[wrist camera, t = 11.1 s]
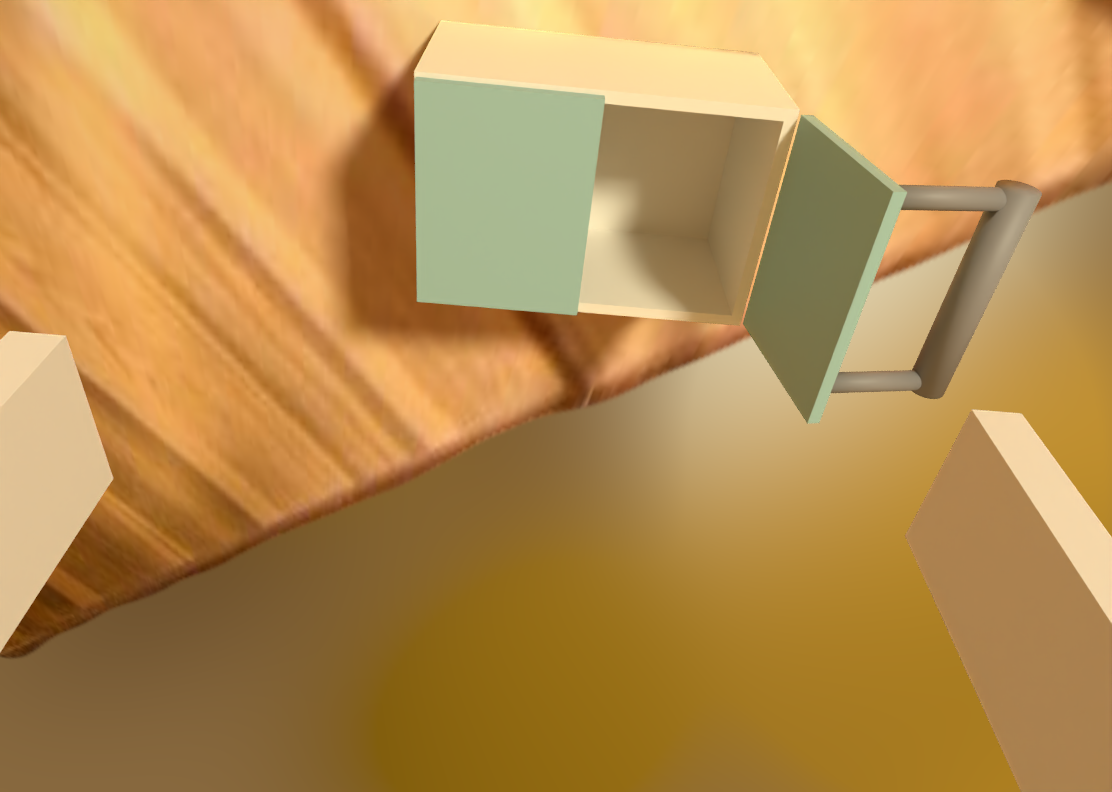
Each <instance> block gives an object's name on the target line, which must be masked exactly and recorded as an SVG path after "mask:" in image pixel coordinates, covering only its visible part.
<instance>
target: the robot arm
mask: <svg viewBox="0 0 1112 792" xmlns="http://www.w3.org/2000/svg"><path fill="white" fill-rule="evenodd" d="M112 480H113V476H112V473H111V470H110V467H109V464H108V461H107V458H106V455H105V452H104V449H103V446H102V443H101V440H100V437H99V434H98V431H97V428H96V425H95V422H94V419H93V416H92V413H91V410H90V407H89V404H88V401H87V398H86V395H85V392H84V389H83V386H82V383H81V380H80V377H79V374H78V371H77V368H76V365H75V362H74V359H73V356H72V353H71V350H70V347H69V344H68V341H67V338H66V336H64V335H51V334H39V333H27V332H14V331H9V332H8V333H7V334H6V335H5V336H4V337H3V338H2V339H1V340H0V652H1V650H2V649H3V647H4V646H5V644H6V643H7V641H8V640H9V638H10V637H11V635H12V634H13V632H14V630H15V629H16V627H17V626H18V624H19V623H20V621H21V620H22V618H23V617H24V615H25V614H26V612H27V610H28V609H29V607H30V606H31V604H32V603H33V601H34V600H35V598H36V597H37V595H38V594H39V592H40V590H41V589H42V587H43V586H44V584H45V583H46V581H47V580H48V578H49V577H50V575H51V574H52V572H53V570H54V569H55V567H56V566H57V564H58V563H59V561H60V560H61V558H62V557H63V555H64V554H65V552H66V550H67V549H68V547H69V546H70V544H71V543H72V541H73V540H74V538H75V537H76V535H77V534H78V532H79V531H80V529H81V527H82V526H83V524H84V523H85V521H86V520H87V518H88V517H89V515H90V514H91V512H92V511H93V509H94V507H95V506H96V504H97V503H98V501H99V500H100V498H101V497H102V495H103V494H104V492H105V491H106V489H107V487H108V486H109V484H110V483H111V481H112ZM905 537H906V539H907V541H908V544H909V546H910V548H911V550H912V552H913V555H914V557H915V559H916V561H917V563H918V566H919V568H920V570H921V572H922V574H923V576H924V579H925V581H926V583H927V585H928V588H929V590H930V592H931V594H932V596H933V599H934V601H935V603H936V605H937V607H938V610H939V612H940V614H941V616H942V619H943V621H944V623H945V625H946V627H947V630H948V632H949V634H950V636H951V638H952V641H953V642H954V645H955V647H956V649H957V651H958V654H959V656H960V658H961V660H962V663H963V665H964V667H965V669H966V671H967V674H968V676H969V678H970V680H971V682H972V685H973V687H974V689H975V691H976V693H977V696H978V698H979V700H980V702H981V704H982V707H983V709H984V711H985V713H986V715H987V718H988V720H989V722H990V724H991V726H992V729H993V731H994V733H995V735H996V737H997V740H998V742H999V744H1000V746H1001V748H1002V751H1003V753H1004V755H1005V757H1006V759H1007V762H1008V764H1009V766H1010V768H1011V770H1012V773H1013V775H1014V777H1015V779H1016V781H1017V783H1018V786H1019V788H1020V790H1021V792H1112V537H1111V536H1110V534H1109V533H1108V532H1107V530H1106V529H1105V528H1104V526H1103V525H1102V523H1101V522H1100V521H1099V519H1098V518H1097V517H1096V515H1095V514H1094V512H1093V511H1092V510H1091V508H1090V507H1089V506H1088V504H1087V503H1086V502H1085V500H1084V499H1083V497H1082V496H1081V495H1080V493H1079V492H1078V490H1077V489H1076V488H1075V486H1074V485H1073V484H1072V482H1071V481H1070V480H1069V478H1068V477H1067V476H1066V474H1065V473H1064V471H1063V470H1062V469H1061V467H1060V466H1059V464H1058V463H1057V462H1056V460H1055V459H1054V458H1053V456H1052V455H1051V453H1050V452H1049V451H1048V449H1047V448H1046V447H1045V445H1044V444H1043V443H1042V441H1041V440H1040V438H1039V437H1038V436H1037V434H1036V433H1035V431H1034V430H1033V429H1032V427H1031V426H1030V425H1029V423H1028V422H1027V420H1026V419H1025V418H1024V416H1023V415H1022V414H1021V413H1009V412H996V411H984V410H971V412H970V414H969V416H968V418H967V419H966V421H965V423H964V425H963V427H962V429H961V431H960V433H959V435H958V437H957V438H956V441H955V442H954V444H953V446H952V448H951V450H950V452H949V454H948V456H947V457H946V459H945V461H944V463H943V465H942V467H941V469H940V471H939V473H938V475H937V477H936V478H935V480H934V482H933V484H932V486H931V488H930V490H929V492H928V494H927V496H926V497H925V499H924V501H923V503H922V505H921V507H920V509H919V511H918V513H917V514H916V516H915V518H914V520H913V522H912V524H911V526H910V528H909V530H908V532H907V534H906V535H905Z"/></svg>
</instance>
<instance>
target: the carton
mask: <svg viewBox="0 0 1112 792" xmlns="http://www.w3.org/2000/svg"><path fill="white" fill-rule="evenodd" d="M416 77H424V78H434V79H444V80H454V81H464V82H474V83H484V84H494V85H504V86H514V87H524V88H534V89H544V90H554V91H565V92H575V93H585V94H595V95H605V104H604V112H603V119H602V127H601V135H600V143H599V150H598V158H597V166H596V173H595V181H594V189H593V197H592V204H591V212H590V220H589V227H588V235H587V243H586V251H585V258H584V266H583V274H582V281H581V289H580V297H579V305H578V312H584V313H596V314H608V315H619V316H631V317H643V318H654V319H666V320H678V321H689V322H701V323H713V324H725V325H736V326H740V324H741V320H742V316H743V313H744V309H745V306H746V302H747V298H748V295H749V291H750V288H751V284H752V280H753V277H754V273H755V270H756V266H757V262H758V259H759V255H760V252H761V248H762V244H763V241H764V237H765V234H766V230H767V226H768V223H769V219H770V216H771V212H772V208H773V205H774V201H775V198H776V194H777V190H778V187H779V183H780V180H781V176H782V172H783V169H784V165H785V162H786V158H787V154H788V151H789V147H790V144H791V140H792V136H793V133H794V129H795V126H796V122H797V118H798V115H799V111H800V109H799V108H798V107H797V105H796V104H795V103H794V101H793V100H792V98H791V97H790V96H789V94H788V93H787V92H786V90H785V89H784V87H783V86H782V85H781V83H780V82H779V81H778V79H777V78H776V76H775V75H774V74H773V72H772V71H771V70H770V68H769V67H768V65H767V64H766V63H765V61H764V60H763V59H762V57H761V56H760V54H759V53H753V52H743V51H734V50H724V49H715V48H705V47H695V46H686V45H676V44H666V43H657V42H647V41H637V40H628V39H618V38H608V37H599V36H589V35H579V34H570V33H560V32H550V31H541V30H531V29H521V28H512V27H502V26H492V25H483V24H473V23H463V22H454V21H444V20H441V21H440V23H439V25H438V27H437V29H436V30H435V32H434V34H433V36H432V38H431V40H430V42H429V44H428V46H427V48H426V49H425V51H424V53H423V55H422V57H421V59H420V61H419V63H418V65H417V67H416V68H415V70H414V80H415V78H416Z"/></svg>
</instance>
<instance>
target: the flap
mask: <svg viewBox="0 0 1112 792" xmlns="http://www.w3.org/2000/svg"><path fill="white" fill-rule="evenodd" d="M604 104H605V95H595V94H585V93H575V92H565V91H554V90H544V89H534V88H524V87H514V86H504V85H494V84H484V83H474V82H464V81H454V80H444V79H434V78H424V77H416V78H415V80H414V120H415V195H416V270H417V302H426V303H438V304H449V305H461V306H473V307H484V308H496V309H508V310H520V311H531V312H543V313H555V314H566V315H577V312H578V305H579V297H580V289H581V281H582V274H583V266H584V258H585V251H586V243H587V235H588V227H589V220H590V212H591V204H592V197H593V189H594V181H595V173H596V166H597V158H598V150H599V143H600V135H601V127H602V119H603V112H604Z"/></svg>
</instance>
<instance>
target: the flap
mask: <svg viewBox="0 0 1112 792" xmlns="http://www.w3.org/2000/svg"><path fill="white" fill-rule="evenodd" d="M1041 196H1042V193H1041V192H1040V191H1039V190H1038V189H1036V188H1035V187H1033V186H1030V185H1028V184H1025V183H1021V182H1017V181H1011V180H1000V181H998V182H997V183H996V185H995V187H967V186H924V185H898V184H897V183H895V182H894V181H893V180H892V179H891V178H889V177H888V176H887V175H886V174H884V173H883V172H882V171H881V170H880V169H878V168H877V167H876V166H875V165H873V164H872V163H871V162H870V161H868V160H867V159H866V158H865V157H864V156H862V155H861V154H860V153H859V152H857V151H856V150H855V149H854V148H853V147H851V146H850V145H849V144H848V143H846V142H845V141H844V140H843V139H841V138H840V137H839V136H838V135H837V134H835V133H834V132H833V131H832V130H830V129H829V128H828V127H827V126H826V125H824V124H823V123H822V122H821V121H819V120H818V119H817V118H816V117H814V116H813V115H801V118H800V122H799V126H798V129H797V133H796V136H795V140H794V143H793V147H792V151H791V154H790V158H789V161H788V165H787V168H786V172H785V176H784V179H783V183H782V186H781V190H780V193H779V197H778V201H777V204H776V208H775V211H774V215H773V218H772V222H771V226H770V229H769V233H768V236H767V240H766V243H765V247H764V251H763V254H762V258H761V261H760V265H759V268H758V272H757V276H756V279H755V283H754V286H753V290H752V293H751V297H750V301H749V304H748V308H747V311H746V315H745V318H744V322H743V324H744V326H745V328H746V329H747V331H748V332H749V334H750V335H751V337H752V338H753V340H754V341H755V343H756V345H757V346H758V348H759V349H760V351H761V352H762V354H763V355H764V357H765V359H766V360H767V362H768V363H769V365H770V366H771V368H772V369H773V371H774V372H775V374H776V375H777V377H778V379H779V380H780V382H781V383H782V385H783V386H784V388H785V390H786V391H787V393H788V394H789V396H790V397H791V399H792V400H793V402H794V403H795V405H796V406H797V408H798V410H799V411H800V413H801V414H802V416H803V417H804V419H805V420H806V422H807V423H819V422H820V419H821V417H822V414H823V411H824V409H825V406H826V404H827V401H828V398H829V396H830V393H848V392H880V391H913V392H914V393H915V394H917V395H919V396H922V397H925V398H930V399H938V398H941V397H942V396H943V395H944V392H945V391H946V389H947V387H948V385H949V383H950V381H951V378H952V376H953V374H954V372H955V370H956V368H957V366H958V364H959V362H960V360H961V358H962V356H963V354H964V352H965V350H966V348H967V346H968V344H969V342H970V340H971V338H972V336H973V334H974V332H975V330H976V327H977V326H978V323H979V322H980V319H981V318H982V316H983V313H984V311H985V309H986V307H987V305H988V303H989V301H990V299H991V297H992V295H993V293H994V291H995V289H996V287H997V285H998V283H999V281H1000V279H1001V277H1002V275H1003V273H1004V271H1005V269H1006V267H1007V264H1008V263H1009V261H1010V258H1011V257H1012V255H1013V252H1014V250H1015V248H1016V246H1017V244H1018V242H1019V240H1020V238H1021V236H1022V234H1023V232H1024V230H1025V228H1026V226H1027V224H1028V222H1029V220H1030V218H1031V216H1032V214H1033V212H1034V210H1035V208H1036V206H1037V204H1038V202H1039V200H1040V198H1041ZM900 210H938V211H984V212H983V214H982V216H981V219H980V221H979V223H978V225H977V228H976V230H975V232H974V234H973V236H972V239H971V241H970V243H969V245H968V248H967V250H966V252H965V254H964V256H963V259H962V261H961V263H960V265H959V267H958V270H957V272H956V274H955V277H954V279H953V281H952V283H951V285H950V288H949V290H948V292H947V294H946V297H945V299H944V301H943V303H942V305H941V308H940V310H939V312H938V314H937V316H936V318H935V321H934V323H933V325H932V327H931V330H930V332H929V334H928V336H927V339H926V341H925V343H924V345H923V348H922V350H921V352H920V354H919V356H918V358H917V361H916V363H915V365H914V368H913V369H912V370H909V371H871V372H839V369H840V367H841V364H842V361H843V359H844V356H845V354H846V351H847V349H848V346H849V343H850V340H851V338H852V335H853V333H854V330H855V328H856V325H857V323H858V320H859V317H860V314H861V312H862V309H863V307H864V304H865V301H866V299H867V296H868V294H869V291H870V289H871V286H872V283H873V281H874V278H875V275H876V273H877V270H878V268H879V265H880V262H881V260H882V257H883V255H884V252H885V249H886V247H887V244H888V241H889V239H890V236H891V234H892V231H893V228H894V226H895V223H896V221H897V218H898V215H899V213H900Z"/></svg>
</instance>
